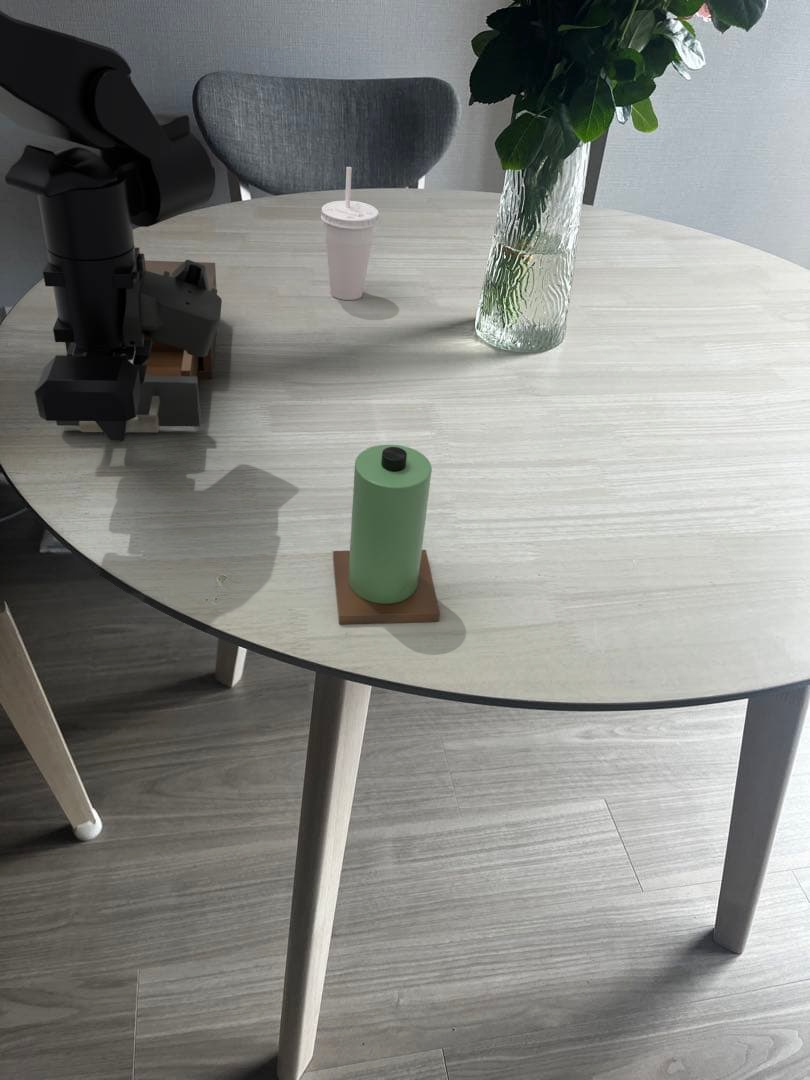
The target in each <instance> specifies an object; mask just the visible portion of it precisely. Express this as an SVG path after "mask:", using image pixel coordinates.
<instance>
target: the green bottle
mask: <svg viewBox="0 0 810 1080" xmlns="http://www.w3.org/2000/svg"><path fill="white" fill-rule="evenodd" d="M432 470H433V468H432V464H431V462H430V460H429V459H428V458H427V457H426V455H424V454H423V453H422V452H420V451H419V450H416V449H414V448H411V447H409V446H405V445H400V444H380V445H374V446H371V447H368V448H366V449H365V450H363V451H361V452H360V453H359V454H358V455H357V457H356V458H355V461H354V470H353V471H354V472H353V488H352V489H353V490H352V491H353V492H352V506H351V507H352V508H351V525H350V541H349V551H350V556H349V573H348V581H349V585H350V587H351V589H352V590H353V591H354V592H355V593H356V594H357V595H358V596H360V597H361V598H363V599H365V600H367V601H370V602H374V603H380V604H392V603H397V602H400V601H403V600H405V599H407V598H409V597H410V596H411V595H412V594H413V593H414V592H415V590H416V588H417V585H418V577H419V569H420V561H421V553H422V550H423V544H424V537H425V526H426V519H427V512H428V505H429V504H428V503H429V497H430V496H429V494H430V487H431V480H432V479H431V478H432Z"/></svg>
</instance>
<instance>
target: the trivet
mask: <svg viewBox="0 0 810 1080" xmlns="http://www.w3.org/2000/svg"><path fill="white" fill-rule="evenodd" d="M349 556H350V550H333V551H332V564H333V566H332V567H333V576H334V586H335V597H336V598H335V599H336V608H337V609H336V610H337V618H338V624H339V625H350V624H351V625H352V624H354V625H355V624H357V625H358V624H391V623H392V624H393V623H395V624H397V623H428V622H429V623H430V622H431V623H432V622H433V623H434V622H440V617H441V616H440V615H441V612H440V606H439V603H438V598H437V593H436V589H435V585H434V580H433V576H432V571H431V567H430V561H429V557H428V552H427V549H422V553H421V561H420V569H419V577H418V585H417V588H416V590H415V592H414V593H413V594H412V595H411V596H410V597H409V598H407V599H405V600H403V601H400V602H397V603H392V604H380V603H374V602H370V601H367V600H365V599H363V598H361V597H360V596H358V595H357V594H356V593H355V592H354V591H353V590H352V589H351V587H350V585H349V581H348V573H349Z"/></svg>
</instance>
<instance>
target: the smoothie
mask: <svg viewBox="0 0 810 1080" xmlns="http://www.w3.org/2000/svg"><path fill="white" fill-rule="evenodd" d="M352 168H353V167H351V166H346V171H345V193H344V194H345V195H344V200H335V201H329V202H327V203H325V204H323V205H322V207H321V215H320V218H321V220H322V221H323V225H324V236H325V244H326V256H327V267H328V277H329V288H330V289H329V290H330V295H331V296H332V297H333V298H336V299H339V300H341V301H342V300H344V301H354V300H359V299H360V298H361V297H362V296H363V293H364V288H365V283H366V282H365V281H366V276H367V272H368V265H369V260H370V255H371V251H372V250H371V249H372V244H373V239H374V234H375V229H376V228H375V227H376V225H378V223H379V222H380V221H379V213H380V212H379V210H378V209H377V208H376V207H374V206H373V205H371V204H369V203H365V202H361V201H356V200H351V190H352V171H353V170H352Z"/></svg>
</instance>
